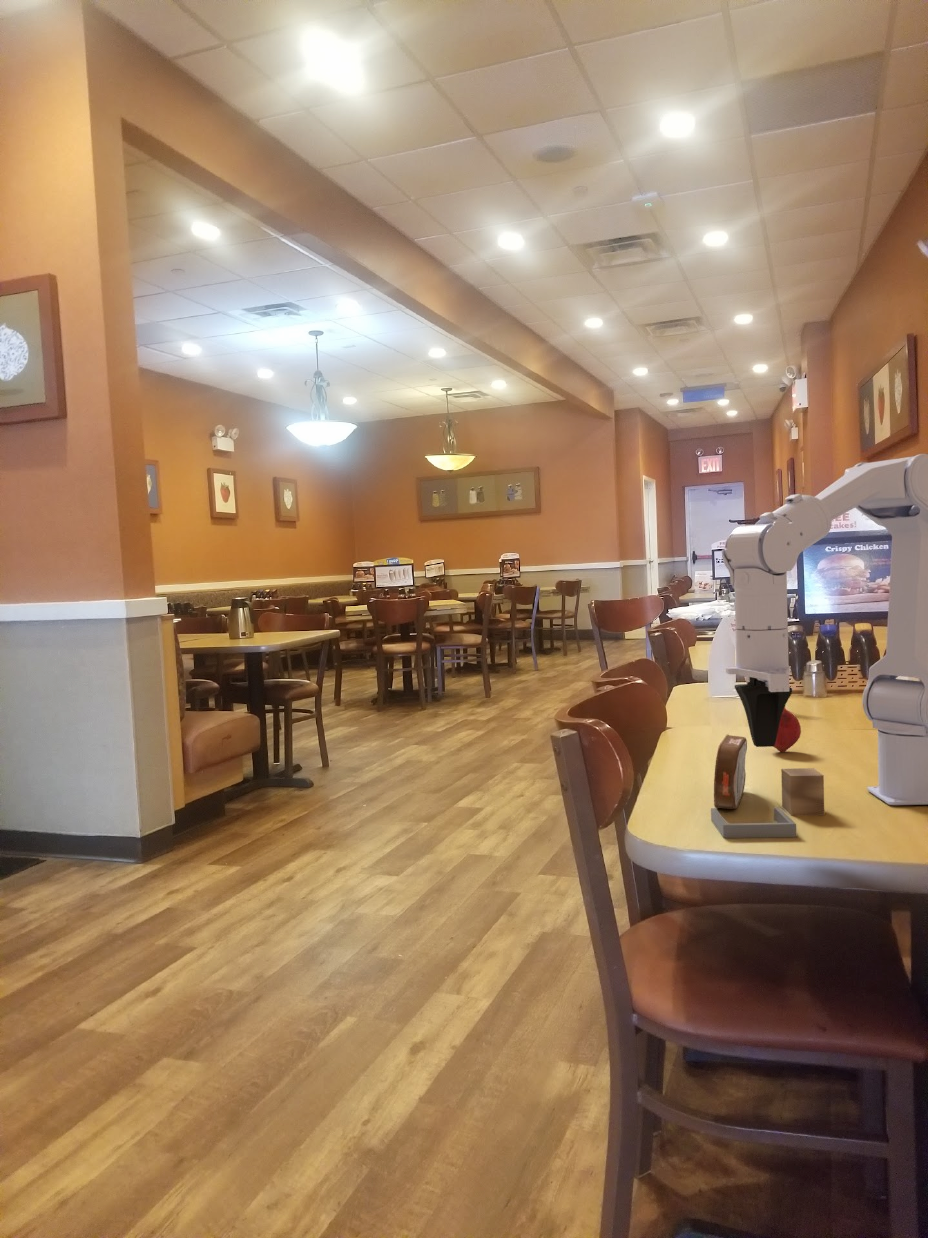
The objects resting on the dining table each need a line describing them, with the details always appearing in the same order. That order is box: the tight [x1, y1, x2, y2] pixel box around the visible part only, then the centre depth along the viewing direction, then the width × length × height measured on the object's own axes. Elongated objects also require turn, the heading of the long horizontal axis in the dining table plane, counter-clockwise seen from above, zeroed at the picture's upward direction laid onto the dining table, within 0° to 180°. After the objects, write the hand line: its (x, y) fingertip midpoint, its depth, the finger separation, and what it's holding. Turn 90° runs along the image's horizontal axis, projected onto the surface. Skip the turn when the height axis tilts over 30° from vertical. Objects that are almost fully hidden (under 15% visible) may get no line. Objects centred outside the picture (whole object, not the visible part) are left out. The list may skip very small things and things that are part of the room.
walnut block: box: [780, 767, 825, 816], centre depth 112 cm, size 4×4×5 cm
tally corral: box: [710, 806, 797, 839], centre depth 105 cm, size 8×7×2 cm
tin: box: [713, 733, 748, 810], centre depth 117 cm, size 15×3×8 cm, turn 157°
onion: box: [773, 706, 802, 753], centre depth 146 cm, size 6×6×8 cm
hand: (763, 745), depth 102 cm, fingers closed
